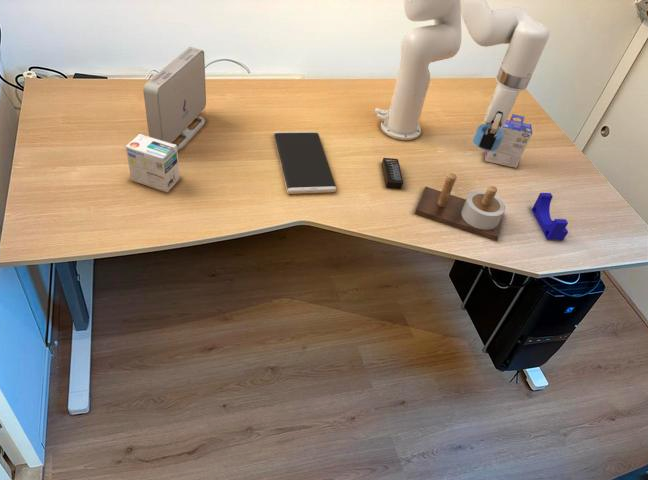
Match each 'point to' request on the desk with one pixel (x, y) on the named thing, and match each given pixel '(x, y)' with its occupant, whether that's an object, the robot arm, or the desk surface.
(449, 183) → the tape stand
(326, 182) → the smartphone
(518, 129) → the ink cartridge box
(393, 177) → the multiport hub
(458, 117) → the desk surface
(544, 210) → the cable clip
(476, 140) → the tape roll
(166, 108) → the network device
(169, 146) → the light bulb box
